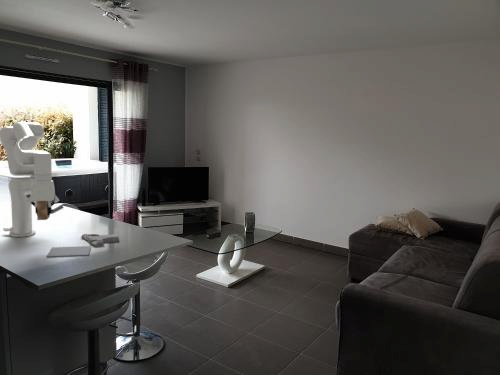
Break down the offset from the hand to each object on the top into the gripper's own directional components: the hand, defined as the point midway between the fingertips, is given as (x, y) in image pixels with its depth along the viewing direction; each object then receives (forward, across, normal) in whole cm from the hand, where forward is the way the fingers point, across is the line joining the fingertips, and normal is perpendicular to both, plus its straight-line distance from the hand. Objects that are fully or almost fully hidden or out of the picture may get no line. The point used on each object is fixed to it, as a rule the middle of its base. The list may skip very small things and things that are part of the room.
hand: (43, 214), depth 188 cm
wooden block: (+2, 0, 0) cm, 2 cm away
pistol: (+18, +26, +12) cm, 34 cm away
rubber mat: (+17, +13, -8) cm, 23 cm away
